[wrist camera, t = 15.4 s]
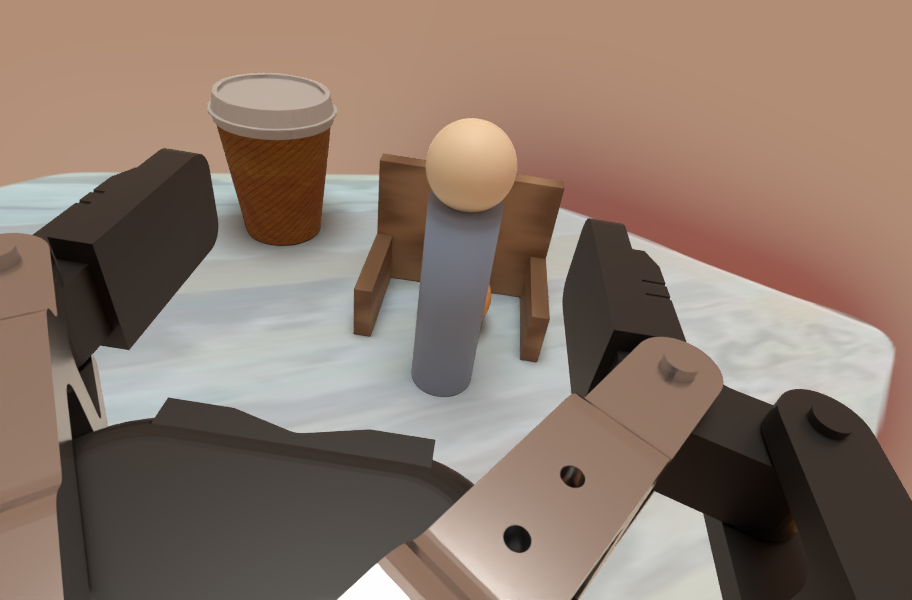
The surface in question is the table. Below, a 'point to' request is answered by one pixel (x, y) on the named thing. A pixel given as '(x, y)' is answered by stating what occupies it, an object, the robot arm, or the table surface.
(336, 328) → the table surface
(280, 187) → the disposable coffee cup
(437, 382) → the player figure
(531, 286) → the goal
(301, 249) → the table surface
